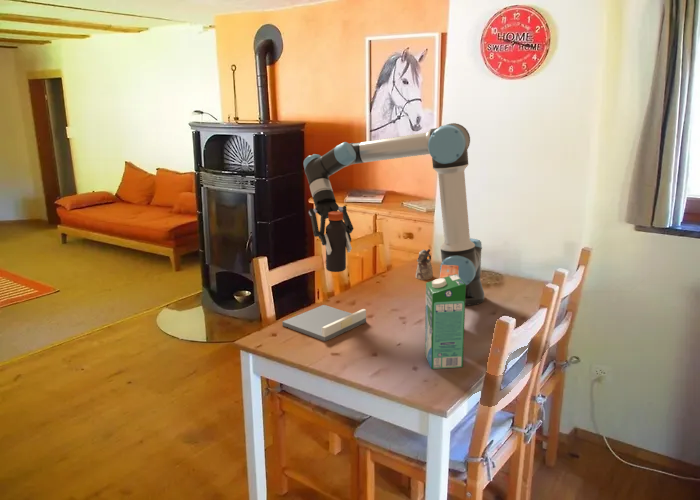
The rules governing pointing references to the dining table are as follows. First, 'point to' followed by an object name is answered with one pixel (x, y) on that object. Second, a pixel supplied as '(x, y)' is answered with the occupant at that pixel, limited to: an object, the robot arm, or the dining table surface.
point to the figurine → (424, 266)
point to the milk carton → (445, 322)
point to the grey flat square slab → (325, 322)
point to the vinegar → (336, 242)
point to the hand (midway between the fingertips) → (339, 251)
